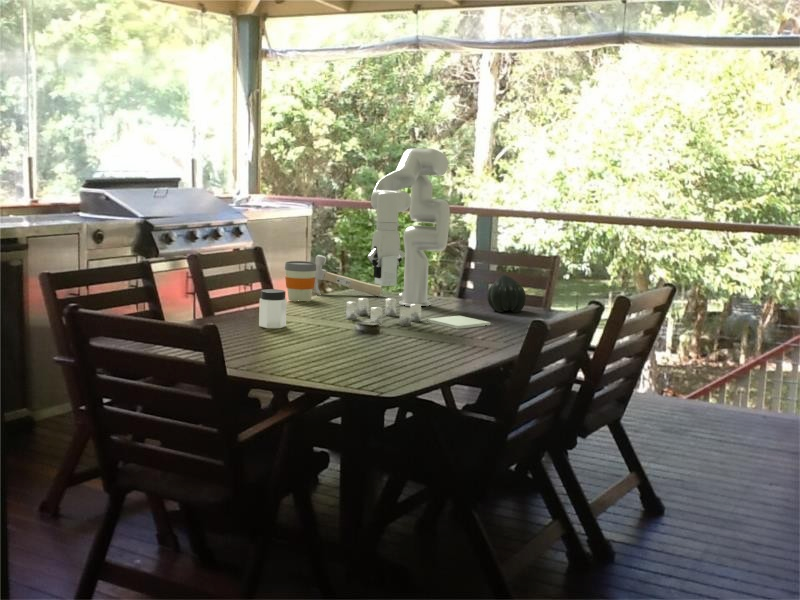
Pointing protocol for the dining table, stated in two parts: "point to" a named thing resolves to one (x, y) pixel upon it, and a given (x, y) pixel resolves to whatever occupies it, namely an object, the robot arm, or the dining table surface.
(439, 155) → the robot arm
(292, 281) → the reusable coffee cup
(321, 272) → the hammer
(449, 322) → the pad
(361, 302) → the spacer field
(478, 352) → the dining table surface
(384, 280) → the small box
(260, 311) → the jar
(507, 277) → the squash
